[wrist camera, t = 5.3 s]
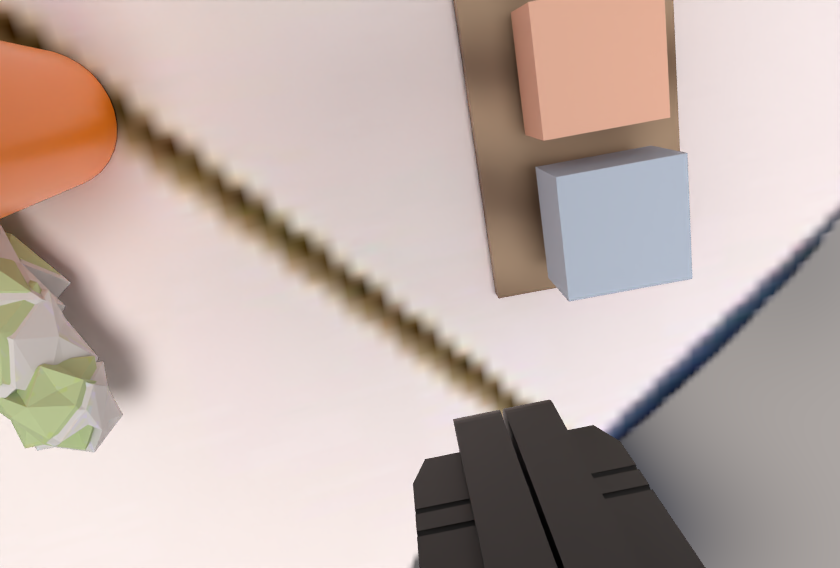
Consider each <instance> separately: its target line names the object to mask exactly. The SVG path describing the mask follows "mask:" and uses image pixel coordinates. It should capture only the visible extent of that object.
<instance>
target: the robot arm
mask: <svg viewBox="0 0 840 568" xmlns="http://www.w3.org/2000/svg"><path fill="white" fill-rule="evenodd" d="M503 419H504V420H503ZM453 421H454V426H455V431H456V436H457V441H458V446H459V451H460V452H459V453H454V454H449V455H444V456H439V457H434V458H429V459H425V461H424V463H423V465H422V467H421V469H420V471H419V473H418V475H417V477H416V479H415V481H414V483H413V489H414V502H415V511H416V528H417V535H418V537H417V541H418V554H419V567H420V568H705V567H704V565H703V564H702V562H701V561H700V559H699V558H698V556H697V555H696V553H695V552H694V550H693V549H692V547H691V546H690V544H689V543H688V542H687V540H686V538H685V537H684V536H683V534H682V533H681V531H680V530H679V528H678V527H677V525H676V524H675V522H674V521H673V519H672V518H671V516H670V515H669V513H668V512H667V510H666V509H665V507H664V506H663V504H662V503H661V501H660V500H659V499H658V497H657V495H656V494H655V492H654V491H653V490H651V489H650V487H649V484H648V482H647V481H646V479H645V478H644V476H643V475H642V473H641V472H640V470H637V468H636V465H635V463H634V461H633V460H632V458H631V457H630V455H629V454H628V452H627V451H626V449H625V448H624V446H623V445H622V444H621V442H620V441H618V440H617V439H615V438H614V437H612V436H610V435H609V434H607V433H605V432H604V431H602V430H600V429H599V428H597V427H596V426H594V425H592V426H587V427H582V428H577V429H572V430H567V428H566V427H565V425H564V423H563V421H562V419H561V417H560V416H559V414H558V412H557V410H556V408H555V406H554V404H553V403H552V401H551V400H545V401H540V402H535V403H530V404H525V405H521V406H516V407H511V408H506V409H503V417H502V414H501V412H500V410H497V411H492V412H487V413H482V414H477V415H472V416H467V417H462V418H457V419H453Z"/></svg>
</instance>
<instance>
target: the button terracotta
mask: <svg viewBox="0 0 840 568" xmlns="http://www.w3.org/2000/svg"><path fill="white" fill-rule="evenodd" d="M511 20H512V29H513V37H514V45H515V54H516V62H517V71H518V79H519V87H520V96H521V104H522V113H523V121H524V129H525V135H527V136H530V137H533V138H536V139H539V140H543V141H545V140H551V139H556V138H562V137H567V136H572V135H578V134H583V133H589V132H594V131H600V130H605V129H610V128H616V127H621V126H627V125H632V124H638V123H643V122H648V121H654V120H659V119H665V118H670V99H669V78H668V57H667V36H666V15H665V0H536V1H531V2H527V3H526V4H524V5H522V6H521V7H519V8H517V9H516V10H514V11H512V12H511Z"/></svg>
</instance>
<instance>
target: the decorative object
mask: <svg viewBox="0 0 840 568" xmlns="http://www.w3.org/2000/svg"><path fill="white" fill-rule="evenodd" d="M70 283H71V282H70V281H68V280H67V279H66V278H65V277H63V276H62V275H61V274H60V273H59V272H57V271H56V270H55V269H54V268H52V267H51V266H50V265H49V264H48V263H46V262H45V261H44V260H43V259H42V258H40V257H39V256H38V255H37V254H35V253H34V252H33V251H32V250H31V249H29V248H28V247H27V246H26V245H24V244H23V243H22V242H21V241H20V240H18V239H17V238H16V237H15V236H13V235H12V234H11V233H6V232H4V230H3V228H2V226H1V224H0V413H1V414H3V415H4V416H6V417H7V418H8V419H10V420H11V422H12V424H13V426H14V428H15V430H16V432H17V434H18V435H19V437H20V439H21V441H22V443H23V445H24V447H25V448H29V447H34V446H35V448H36V450H42V449H48V448H54V447H57V448H65V449H73V450H81V451H89V452H95V451H96V450H97V449H98V447H99V446H100V445H101V443H102V442H103V440H104V439H105V438H106V436H107V435H108V434H109V432H110V431H111V430H112V428H113V427H114V426H115V424H116V423H117V422H118V421H119V419H120V418H121V417H122V415H123V414H122V412H121V410H120V409H119V407H118V405H117V403H116V401H115V400H114V398H113V396H112V394H111V392H110V390H109V387H108V383H107V377H106V372H105V366H104V361H102V362H97V360H98V356H97V355H96V354H95V353H94V351H93V350H92V349H91V348H90V347H89V346H88V344H87V343H86V342H85V341H84V340H83V338H82V337H81V336H80V335H79V334H78V333H77V331H76V330H75V329H74V328H73V327H72V325H71V324H70V323H69V322H68V321H67V320H66V318H65V317H64V315H63V313H62V312H63V310H64V308H65V305H64V304H63V303H62V302H61V301H60V300H59V299H58V297H59V296H60V294H61V293H62V292H63V291H64V290H65V289H66V288H67V287H68V286H69V284H70Z"/></svg>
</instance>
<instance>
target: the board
mask: <svg viewBox="0 0 840 568" xmlns="http://www.w3.org/2000/svg"><path fill="white" fill-rule="evenodd" d="M453 1H454V8H455V15H456V22H457V29H458V36H459V43H460V50H461V57H462V64H463V71H464V77H465V84H466V91H467V98H468V105H469V112H470V119H471V126H472V133H473V140H474V147H475V153H476V160H477V167H478V174H479V181H480V188H481V195H482V202H483V209H484V216H485V223H486V230H487V236H488V243H489V250H490V257H491V264H492V271H493V278H494V285H495V292H496V294H497V296H498V298H503V297H508V296H514V295H519V294H525V293H530V292H536V291H541V290H546V289H552V288H557V287H556V286H555V285H554V284H553V283H552V281H551V280H550V279H549V278H548V271H547V263H546V254H545V246H544V237H543V228H542V220H541V211H540V202H539V194H538V185H537V177H536V168H535V167H537V166H543V165H548V164H554V163H559V162H565V161H570V160H575V159H581V158H586V157H592V156H597V155H603V154H608V153H613V152H619V151H624V150H630V149H635V148H641V147H646V146H656V147H661V148H666V149H670V150H675V151H680V145H679V122H678V99H677V76H676V53H675V30H674V8H673V0H665V15H666V36H667V57H668V78H669V99H670V118H665V119H659V120H654V121H648V122H643V123H638V124H632V125H627V126H621V127H616V128H610V129H605V130H600V131H594V132H589V133H583V134H578V135H572V136H567V137H562V138H556V139H551V140H545V141H543V140H539V139H536V138H533V137H530V136H527V135H525V129H524V121H523V113H522V104H521V96H520V87H519V79H518V71H517V62H516V54H515V45H514V37H513V29H512V20H511V12H512V11H514V10H516V9H517V8H519V7H521V6H522V5H524V4H526V3H527V2H531V1H536V0H453Z"/></svg>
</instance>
